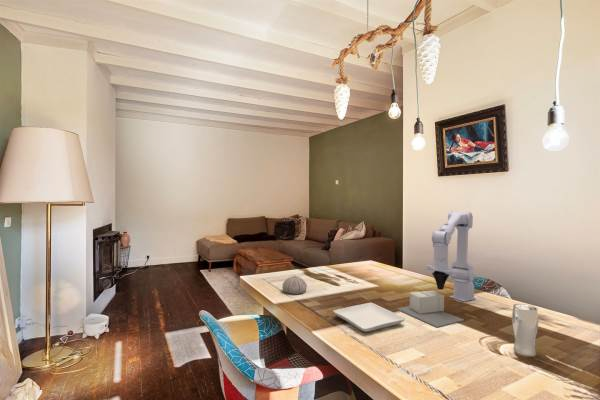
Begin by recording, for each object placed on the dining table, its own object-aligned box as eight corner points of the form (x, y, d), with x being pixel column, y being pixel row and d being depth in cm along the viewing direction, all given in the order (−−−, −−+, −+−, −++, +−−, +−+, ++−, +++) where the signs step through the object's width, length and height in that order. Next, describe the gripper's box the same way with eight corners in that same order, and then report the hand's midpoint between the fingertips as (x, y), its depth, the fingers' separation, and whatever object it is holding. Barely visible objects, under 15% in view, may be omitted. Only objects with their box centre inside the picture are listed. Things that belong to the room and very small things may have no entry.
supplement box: (444, 294, 140) (419, 297, 137) (444, 311, 140) (419, 314, 137) (433, 289, 147) (409, 292, 144) (432, 305, 147) (409, 308, 144)
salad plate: (364, 337, 116) (364, 328, 116) (331, 317, 135) (331, 309, 135) (406, 326, 126) (406, 318, 126) (371, 309, 144) (371, 302, 144)
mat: (422, 304, 151) (422, 303, 151) (464, 320, 131) (464, 319, 131) (396, 309, 144) (396, 308, 143) (436, 327, 124) (436, 326, 124)
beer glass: (506, 347, 108) (507, 303, 108) (526, 347, 109) (526, 303, 108) (522, 358, 101) (523, 311, 101) (543, 357, 102) (544, 310, 101)
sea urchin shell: (298, 286, 179) (298, 272, 179) (312, 293, 167) (312, 277, 167) (277, 290, 172) (277, 275, 172) (290, 297, 160) (290, 281, 160)
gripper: (421, 256, 145) (421, 285, 145) (448, 262, 132) (448, 294, 132) (432, 254, 148) (432, 284, 148) (460, 260, 135) (459, 292, 135)
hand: (440, 289), depth 140 cm, fingers closed
